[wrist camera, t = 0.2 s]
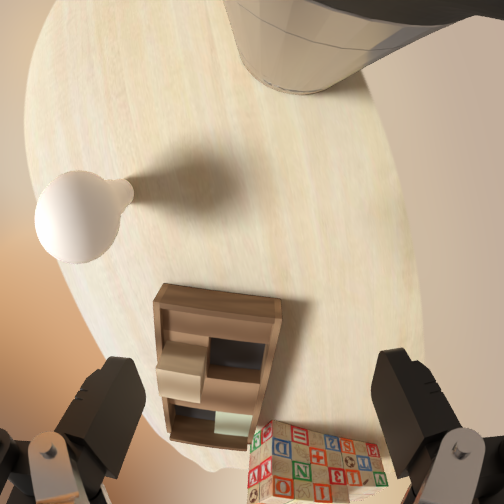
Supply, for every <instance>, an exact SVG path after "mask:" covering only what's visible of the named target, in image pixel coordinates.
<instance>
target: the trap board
mask: <svg viewBox="0 0 504 504" xmlns="http://www.w3.org/2000/svg"><path fill="white" fill-rule="evenodd" d="M153 312H154V327H155V340H156V351H157V361H159V359H160V356H161V354H162V351H163V349H164V346H165V344H166V341H167V340H168V341H174V342H180V343H186V344H192V345H198V346H205V347H207V363H206V377H205V382H204V387H203V392H202V397H201V402H200V403H194V402H188V401H183V400H177V399H172V398H167V397H162V402H163V409H164V416H165V422H166V428H167V432H168V433H171V434H170V440H171V441H176V442H181V443H187V444H192V445H199V446H205V447H212V448H219V449H228V450H237V451H247V444H252V441H253V437H254V433H255V430H256V426H257V422H258V418H259V414H260V411H261V407H262V403H263V399H264V395H265V391H266V387H267V383H268V379H269V375H270V371H271V366H272V362H273V358H274V354H275V350H276V345H277V341H278V337H279V332H280V328H281V323H282V309H281V299H278V298H270V297H261V296H253V295H245V294H237V293H229V292H221V291H214V290H206V289H199V288H192V287H185V286H179V285H172V284H165V283H163V285H162V287H161V288H160V290H159V292H158V293H157V295H156V297H155V299H154V300H153Z"/></svg>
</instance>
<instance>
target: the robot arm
mask: <svg viewBox="0 0 504 504" xmlns="http://www.w3.org/2000/svg"><path fill="white" fill-rule="evenodd" d="M223 3H224V6H225V9H226V12H227V15H228V18H229V21H230V24H231V28H232V31H233V34H234V38H235V41H236V44H237V47H238V51H239V54H240V56H241V59H242V62H243V63H244V65H245V66H246V68H247V70H248V71H249V72H250V73H251V74H252V75H253V76H254V77H255V78H256V79H257V80H259V81H260V82H261V83H263V84H264V85H266V86H268V87H270V88H272V89H274V90H277V91H280V92H284V93H288V94H299V95H304V94H312V93H316V92H319V91H323V90H325V89H327V88H329V87H331V86H332V85H334V84H336V83H338V82H339V81H341V80H343V79H345V78H347V77H349V76H350V75H352V74H354V73H356V72H357V71H359V70H361V69H363V68H364V67H366V66H367V65H370V64H372V63H374V62H375V61H377V60H379V59H381V58H383V57H385V56H387V55H389V54H390V53H392V52H394V51H396V50H398V49H400V48H402V47H404V46H406V45H408V44H410V43H412V42H414V41H416V40H418V39H420V38H422V37H424V36H427V35H429V34H431V33H433V32H435V31H438V30H440V29H442V28H444V27H446V26H449V25H451V24H454V23H456V22H457V21H460V20H463V19H465V18H468V17H471V16H474V15H479V16H485V17H490V18H495V19H500V20H504V0H223ZM371 397H372V401H373V404H374V407H375V410H376V413H377V416H378V419H379V422H380V425H381V428H382V431H383V434H384V437H385V440H386V443H387V446H388V450H389V453H390V456H391V459H392V462H393V466H394V469H395V472H396V476H397V479H400V478H403V477H407V476H409V477H410V480H411V484H410V486H409V488H408V490H407V492H406V494H405V496H404V498H403V500H402V502H401V504H504V436H497V437H486V438H482V437H481V436H480V435H479V434H478V433H477V432H476V431H474V430H472V429H469V428H463V427H462V426H461V424H460V423H459V421H458V419H457V417H456V415H455V413H454V411H453V410H452V408H451V406H450V404H449V402H448V401H447V399H446V397H445V395H444V394H443V392H441V388H440V387H439V385H438V383H436V380H435V378H434V376H433V375H432V373H431V371H430V370H429V369H428V368H427V367H426V366H424V365H423V364H422V363H421V362H419V361H418V360H417V361H411V359H410V358H409V356H408V354H407V352H406V351H405V349H404V348H396V349H390V350H384V351H380V353H379V355H378V359H377V364H376V368H375V372H374V376H373V380H372V385H371ZM145 403H146V393H145V389H144V387H143V384H142V382H141V379H140V376H139V374H138V371H137V369H136V366H135V363H134V361H133V360H132V359H131V358H123V357H113V356H111V357H109V358H108V359H107V360H106V362H105V364H104V365H103V367H102V368H101V370H100V369H97V370H96V371H95V372H93V373H92V374H91V375H90V376H89V377H87V378H86V380H85V381H84V383H83V385H82V386H81V388H80V391H78V393H77V394H76V396H75V399H74V400H73V401H72V402H71V404H70V405H69V407H68V409H67V410H66V412H65V414H64V416H63V417H62V419H61V420H60V422H59V424H58V425H57V427H56V429H55V430H54V432H52V431H47V432H43V433H41V434H38V435H37V436H35V438H33V439H32V441H17V440H13V439H12V438H11V437H10V435H9V434H8V433H7V432H6V431H5V430H3V429H1V428H0V495H1V492H2V490H3V488H4V486H5V483H6V481H7V479H8V480H9V481H10V482H12V483H13V484H14V487H13V489H12V492H11V494H10V497H9V499H8V501H7V503H6V504H111V501H110V499H109V497H108V494H107V491H106V489H105V487H104V485H103V484H102V482H103V479H104V476H106V477H110V478H114V479H117V478H118V475H119V472H120V470H121V467H122V464H123V461H124V458H125V456H126V453H127V451H128V448H129V445H130V443H131V440H132V437H133V435H134V432H135V430H136V427H137V424H138V422H139V419H140V417H141V414H142V412H143V409H144V407H145Z"/></svg>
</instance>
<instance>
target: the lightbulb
mask: <svg viewBox="0 0 504 504" xmlns="http://www.w3.org/2000/svg"><path fill="white" fill-rule="evenodd" d="M133 198H134V190H133V187H132V185H131V184H130V183H129V182H128V181H127V180H125V179H116V180H104V179H102V178H101V177H100V176H98V175H96V174H94V173H92V172H87V171H79V170H78V171H70V172H67V173H64V174H62V175H60V176H58V177H57V178H55V179H54V180H53V181H51V182H50V183H49V184H48V185H47V187H46V188H45V189H44V190H43V192H42V193H41V195H40V197H39V200H38V203H37V206H36V211H35V227H36V232H37V235H38V238H39V240H40V242H41V244H42V245H43V247H44V248H45V249H46V251H47V252H48V253H49V254H51V255H52V256H53V257H55V258H56V259H58V260H60V261H63V262H66V263H70V264H81V263H88V262H90V261H92V260H95V259H97V258H99V257H100V256H101V255H103V254H104V253H105V252H106V251H107V250H108V249H109V248H110V246H111V245H112V244H113V242H114V240H115V238H116V236H117V234H118V231H119V227H120V218H121V214H122V213H123V212H124V210H125V208H126V207H127V206H128V205H129V204H130V203H131V202H132V200H133Z"/></svg>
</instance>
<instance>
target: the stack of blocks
mask: <svg viewBox="0 0 504 504" xmlns="http://www.w3.org/2000/svg"><path fill="white" fill-rule="evenodd" d="M387 487H388V482H387V478H386V474H385V472H384V468H383V465H382V460H381V458H380V454H379V450H378V446H377V445H376V444H370V443H365V442H361V441H356V440H350V439H346V438H341V437H335V436H330V435H326V434H321V433H317V432H313V431H309V430H306V429H303V428H299V427H295V426H292V425H289V424H285V423H282V422H278V421H275V420H271V421H270V422H269V423H268V424H267V425H266V426H265V427H263V428H262V429H261V430H260V431H259V432H258V433H257V434H255V435H254V437H253V441H252V444H250V461H249V473H248V487H247V488H248V496H247V504H349V503H350V501H362V500H364V499H366V498H368V497H370V496H372V495H374V494H376V493H377V492H379V491H381V490H383V489H385V488H387Z"/></svg>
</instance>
